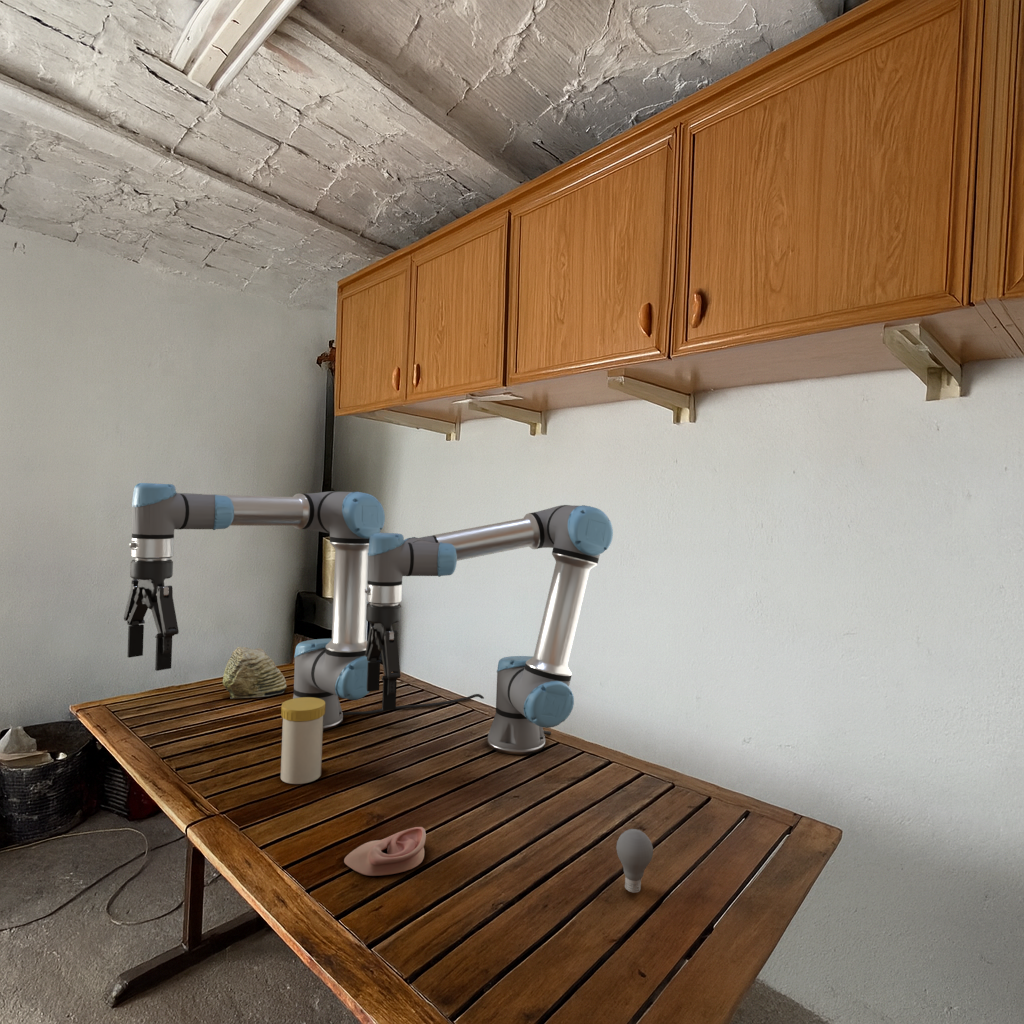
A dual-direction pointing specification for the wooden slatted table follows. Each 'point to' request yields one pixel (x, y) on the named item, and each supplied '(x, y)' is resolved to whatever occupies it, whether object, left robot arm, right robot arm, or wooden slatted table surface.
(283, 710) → the lid
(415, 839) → the anatomical model
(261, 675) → the fossil
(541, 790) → the wooden slatted table surface
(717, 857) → the wooden slatted table surface
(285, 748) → the jar
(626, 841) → the light bulb
